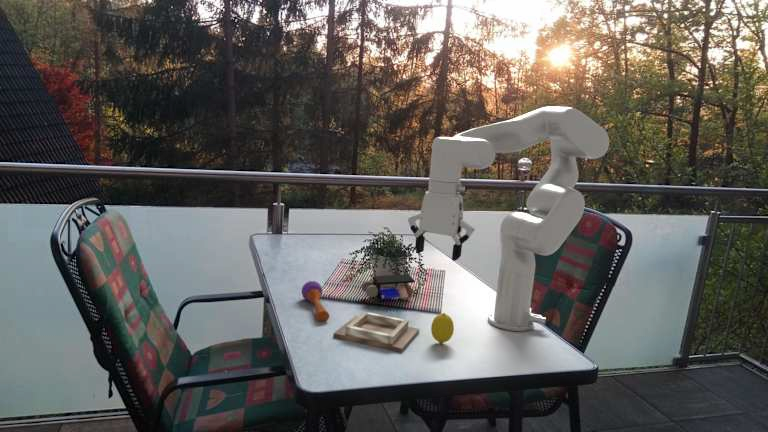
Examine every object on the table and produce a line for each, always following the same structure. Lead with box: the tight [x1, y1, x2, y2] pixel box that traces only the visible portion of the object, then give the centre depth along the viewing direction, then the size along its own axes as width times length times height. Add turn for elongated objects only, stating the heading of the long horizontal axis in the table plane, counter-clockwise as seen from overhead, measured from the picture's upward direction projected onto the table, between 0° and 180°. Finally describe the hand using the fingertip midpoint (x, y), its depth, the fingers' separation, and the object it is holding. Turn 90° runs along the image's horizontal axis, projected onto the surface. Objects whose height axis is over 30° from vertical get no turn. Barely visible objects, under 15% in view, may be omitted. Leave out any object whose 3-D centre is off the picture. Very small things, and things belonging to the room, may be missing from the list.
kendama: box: [301, 280, 330, 323], centre depth 155 cm, size 6×6×20 cm
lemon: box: [430, 312, 454, 345], centre depth 137 cm, size 6×6×8 cm
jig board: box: [333, 311, 420, 353], centre depth 140 cm, size 18×14×3 cm
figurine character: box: [360, 273, 416, 303], centre depth 167 cm, size 7×8×15 cm
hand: (437, 255), depth 138 cm, fingers open, 9 cm apart
